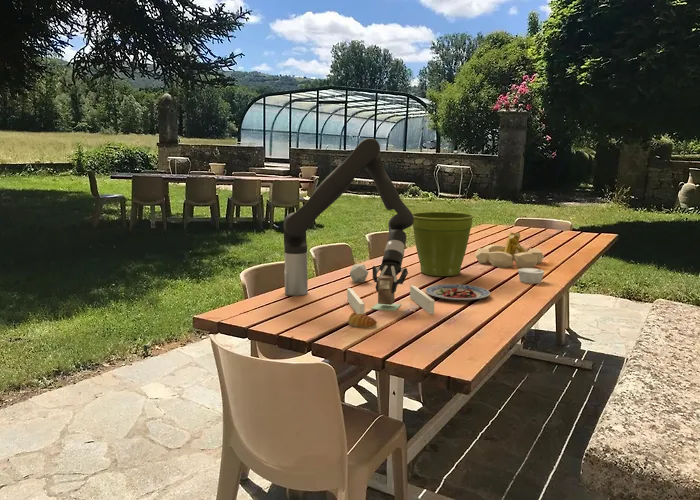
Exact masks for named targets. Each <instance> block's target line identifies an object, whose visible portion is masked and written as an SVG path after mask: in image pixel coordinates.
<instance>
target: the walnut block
mask: <svg viewBox="0 0 700 500" xmlns="http://www.w3.org/2000/svg"><path fill="white" fill-rule="evenodd" d="M377 278H378V292H377V303H378V304H387V305H391V304H395V294H396V292H394V293H392V292H391V289H392V285H393V282H394V276H393V275H381V276H380V277H379V276H377Z"/></svg>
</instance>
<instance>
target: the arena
mask: <svg viewBox="0 0 700 500" xmlns="http://www.w3.org/2000/svg"><path fill="white" fill-rule="evenodd" d="M409 289H410V290H409V298H410V299H411V300H412V301H413V302H415V303H416V304H417V305H418V306H419V307H421V308H422V309H423V310H424V311H425V312H426V313H428V314H429V315H435V303H436V301H435V299H433V298H432V297H431V296H430V295H429V294H427V293H426V292H424V291H422V290H421V289H419V288H418V287H417V286H415V285H410V287H409ZM346 291H347V292H346V293H347V295H346V296H347V298H346V299H347V302H348V303H349V305H350V307H351V308H352V309H353V311H354V313H357V314H365V313H366V312H365V307H366V306H365V302H364V301H363V300H362V299H361V298H360V297H359V296H358V294H357V293H356V292H355V291H354V289H353V288H351V287H350V288H348V287H347V290H346Z"/></svg>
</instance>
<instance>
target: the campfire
mask: <svg viewBox="0 0 700 500" xmlns="http://www.w3.org/2000/svg"><path fill="white" fill-rule="evenodd" d="M520 237H521V233H520V232H515V233H514V232H509V233H508V237H507V240H506V244H505V246H504V245H499V244H489V245H486V246H484V247H480V248H478V249H477V250H476V252H475V254H474V256H475V258H476V259H477V261H478V263H479V264H489V263H490V264H491V265H492V266H493V267H495V268H496V267H497V268H509V267H512V266H514V262H513V261H515V264H516V265H517V267H518V268H520V269H521V268H535V266H537V264H539V265H540V264H541V263H542V261H543V260H544V259H545V255H544V254H543V252H542V251H541V249H540V248H529V249H527V247H525V246H524V245H521V244H520V242H519V241H520Z"/></svg>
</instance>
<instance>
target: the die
mask: <svg viewBox="0 0 700 500" xmlns="http://www.w3.org/2000/svg"><path fill="white" fill-rule="evenodd" d="M368 274H369V271H368V269H367V268H366V265H365V264H353V265H352V267H351V269H350V272H349V275H350V278H351V280H352V282H353V283H366V280H367V277H368Z"/></svg>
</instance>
